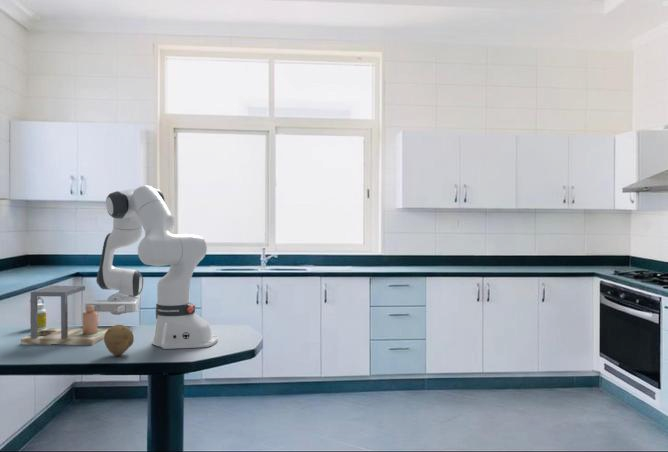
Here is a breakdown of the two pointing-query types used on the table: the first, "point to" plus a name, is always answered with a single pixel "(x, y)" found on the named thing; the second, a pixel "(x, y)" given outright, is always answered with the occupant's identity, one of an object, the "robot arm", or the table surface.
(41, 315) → the supplement bottle
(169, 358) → the table surface
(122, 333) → the natural sponge
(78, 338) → the birch board
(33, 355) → the table surface
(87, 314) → the terracotta bottle
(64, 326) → the tunnel roof
